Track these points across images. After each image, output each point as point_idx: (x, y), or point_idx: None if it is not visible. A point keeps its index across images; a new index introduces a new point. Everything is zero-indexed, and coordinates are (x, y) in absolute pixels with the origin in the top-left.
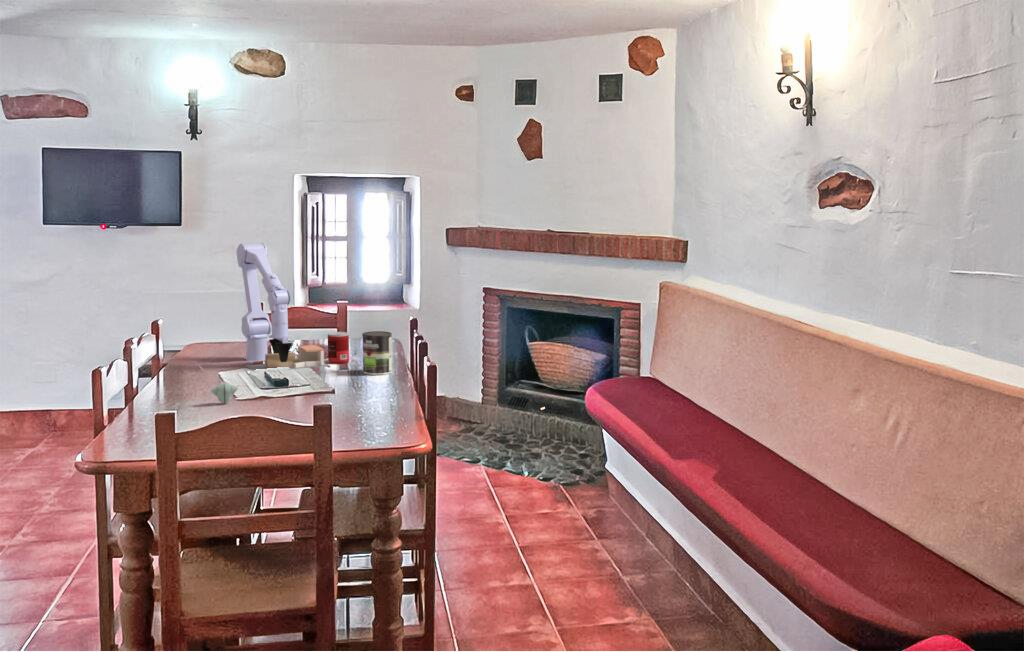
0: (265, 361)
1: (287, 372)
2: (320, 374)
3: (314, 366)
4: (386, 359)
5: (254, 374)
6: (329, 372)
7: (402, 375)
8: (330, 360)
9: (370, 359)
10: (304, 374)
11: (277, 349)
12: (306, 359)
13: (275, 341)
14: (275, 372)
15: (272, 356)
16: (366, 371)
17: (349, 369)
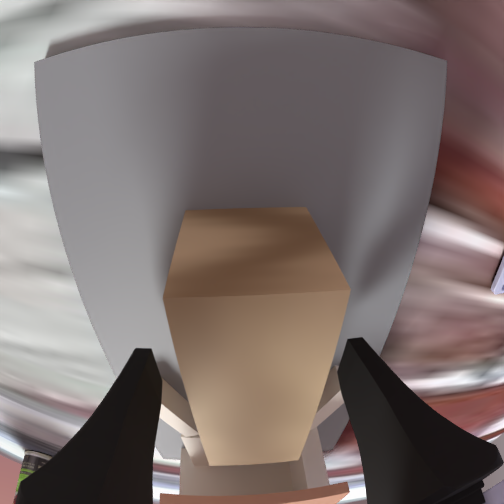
0: (311, 233)
1: (53, 308)
2: (15, 393)
3: (157, 432)
4: None
5: (30, 56)
6: (54, 422)
7: None
8: None
9: (17, 486)
10: (6, 354)
11: (374, 426)
12: None
13: (406, 500)
14: (61, 238)
15: (174, 340)
16: (30, 457)
17: None
